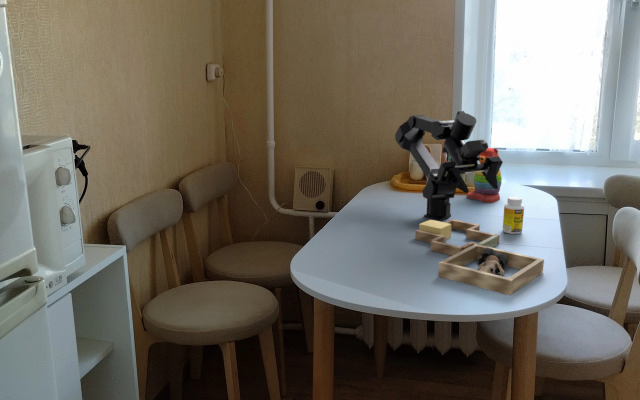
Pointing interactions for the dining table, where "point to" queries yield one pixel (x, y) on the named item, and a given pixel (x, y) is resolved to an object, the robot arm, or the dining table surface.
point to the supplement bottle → (513, 215)
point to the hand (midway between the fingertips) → (482, 190)
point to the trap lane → (470, 228)
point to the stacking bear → (485, 181)
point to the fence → (457, 272)
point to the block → (436, 228)
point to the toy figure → (492, 261)
